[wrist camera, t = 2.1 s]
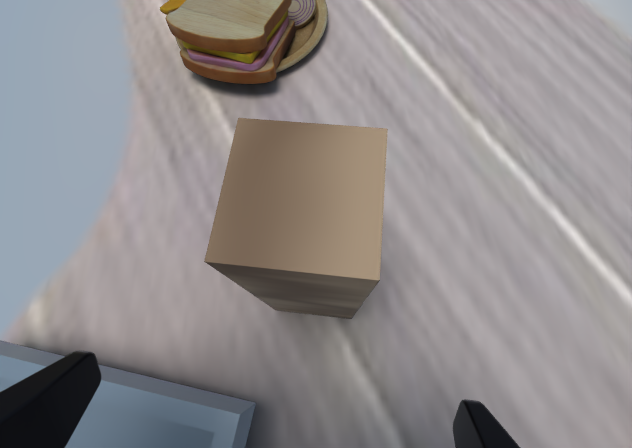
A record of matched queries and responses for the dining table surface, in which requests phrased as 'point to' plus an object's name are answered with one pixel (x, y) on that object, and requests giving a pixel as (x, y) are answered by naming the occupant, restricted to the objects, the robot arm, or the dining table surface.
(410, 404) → the dining table surface
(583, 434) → the dining table surface
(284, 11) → the toy sandwich meal
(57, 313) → the dining table surface
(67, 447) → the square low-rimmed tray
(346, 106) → the dining table surface
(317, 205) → the block
